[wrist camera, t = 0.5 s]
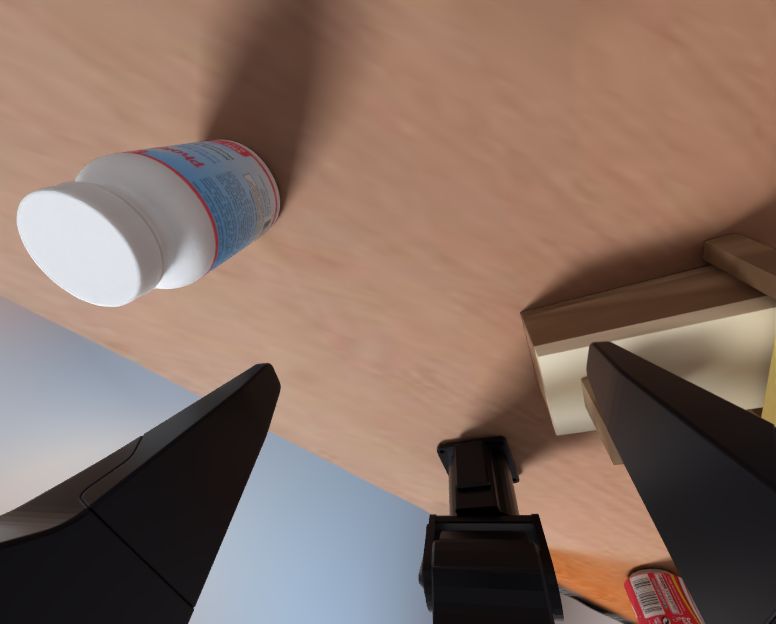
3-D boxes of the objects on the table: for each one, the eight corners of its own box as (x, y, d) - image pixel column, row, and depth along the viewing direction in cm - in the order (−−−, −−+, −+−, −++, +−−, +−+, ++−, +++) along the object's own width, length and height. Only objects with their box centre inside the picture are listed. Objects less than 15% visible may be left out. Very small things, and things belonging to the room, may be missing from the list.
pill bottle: (253, 123, 19) (73, 134, 10) (298, 223, 22) (191, 306, 13) (174, 157, 21) (-46, 195, 12) (225, 246, 24) (82, 335, 14)
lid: (814, 385, 19) (923, 464, 15) (552, 423, 23) (577, 494, 19) (841, 279, 16) (989, 340, 12) (534, 346, 20) (559, 409, 16)
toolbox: (754, 362, 23) (831, 423, 18) (541, 398, 27) (561, 455, 23) (774, 222, 18) (883, 257, 14) (515, 292, 23) (534, 336, 18)
